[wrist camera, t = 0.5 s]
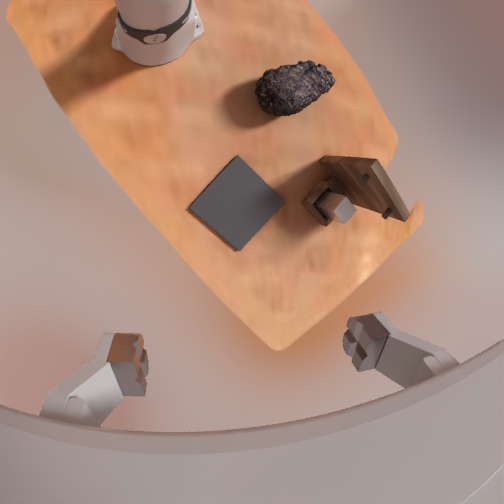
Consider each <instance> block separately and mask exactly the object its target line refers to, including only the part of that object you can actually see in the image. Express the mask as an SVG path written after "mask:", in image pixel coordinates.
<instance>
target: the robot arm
mask: <svg viewBox="0 0 504 504" xmlns="http://www.w3.org/2000/svg"><path fill="white" fill-rule="evenodd" d="M114 2H115V4H116V6H117V14H118V18H116V19H115V24H116V28H115V31H114V35H113V39H112V43H111V45H112V48H113V49H115V50H117V51H121V52H123V53H124V54H125V55H126V56H127V57H128V58H129V59H130V60H132V61H133V62H135V63H138V64H141V65H147V66H155V65H161V64H165V63H168V62H170V61H172V60H174V59H176V58H178V57H179V56H180V55H182V54H183V53H184V52H185V51H186V49H187V48H188V47H189V45H190V44H191V43H192V42H193V41H194V40H196V39H197V38H199V37H200V36H202V35H203V33H204V28H203V25H202V23H201V20H200V17H199V14H198V11H197V8H196V5H195V2H194V0H114ZM196 26H198V28H196ZM347 327H348V330H347V331H346V332H345V333H344V336H343V348H344V350H345V352H346V354H347V355H349V356H351V357H352V363H353V365H354V366H355V368H356V369H357V371H358V372H361V371H365V370H370V369H374V368H375V369H376V370H377V371H379V372H380V373H382V374H384V375H385V376H387V377H388V378H390V379H391V380H393V381H394V382H396V383H398V384H399V385H401V386H402V387H404V388H405V389H403V390H401V391H398V392H395V393H393V394H390V395H387V396H384V397H381V398H378V399H375V400H372V401H369V402H366V403H363V404H360V405H357V406H353V407H350V408H346V409H343V410H339V411H335V412H331V413H328V414H323V415H319V416H315V417H310V418H305V419H301V420H296V421H290V422H285V423H279V424H273V425H266V426H259V427H251V428H242V429H233V430H221V431H206V432H144V431H128V430H116V429H107V428H101V426H100V425H101V424H102V423H103V421H104V420H105V419H106V418H107V417H108V415H109V414H110V413H111V412H112V411H113V410H114V408H115V407H116V406H117V405H118V404H119V402H120V401H121V400H122V398H124V396H145V392H146V385H147V382H146V379H145V377H146V376H147V375H148V356H147V352H146V350H145V349H143V345H144V340H143V337H142V335H141V334H134V333H103V334H102V336H101V339H100V341H99V344H98V347H97V349H96V352H95V355H94V358H93V361H88V362H87V363H85V364H84V365H83V366H82V367H80V368H79V369H78V370H77V371H75V372H74V373H73V374H71V375H70V376H68V377H67V378H66V379H64V380H63V381H62V382H61V383H59V384H58V385H57V386H55V387H54V388H53V389H51V390H50V391H49V392H48V393H47V396H46V398H45V401H44V404H43V407H42V409H41V412H40V415H39V416H36V415H32V414H29V413H25V412H22V411H18V410H15V409H12V408H9V407H6V406H3V405H0V504H504V340H501V341H499V342H497V343H496V344H495V345H493V346H491V347H489V348H488V349H486V350H484V351H483V352H481V353H479V354H477V355H476V356H474V357H472V358H470V359H468V360H467V361H465V362H463V363H461V364H459V363H458V361H457V360H456V359H455V358H454V357H453V356H452V355H451V354H450V353H449V352H448V351H447V350H446V349H445V348H442V347H439V346H437V345H435V344H432V343H430V342H427V341H425V340H422V339H420V338H418V337H415V336H413V335H410V334H408V333H405V332H400V331H399V330H398V329H397V328H396V327H395V326H394V324H392V322H391V321H390V320H389V319H388V318H387V317H386V316H385V315H384V314H383V313H382V312H375V313H370V314H367V315H361V316H355V317H350V318H349V319H348V322H347Z"/></svg>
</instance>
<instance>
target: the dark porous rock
mask: <svg viewBox="0 0 504 504" xmlns="http://www.w3.org/2000/svg"><path fill="white" fill-rule="evenodd" d="M334 83H335V79H334V78H333V76H332V73H331V72H330V71H327V68H326V66H325V65H322V64H318V65H317V66H315V63H314V62H312V61H310V60H309V61H307V62H302V61H299V62H298V64H296V65H283V66H280V67H279V68H278V69H276V70H274V69H270V70H266V71H265V72H264V74H263V77H261V78H260V79H259V80H258V81H257V83H256V86H257V88H256V90H255V93H256V95H257V96H258V101H259V103H260V106H261V108H262V109H263V111H265V112H266V113H268V114H274V115H276V116H283V115H284V116H290V115H292V114H296V113H298V112H300V111H302V110H303V108H305V107H307V106H308V105H310V104H311V103H312V102H314V101H317V99H318V98H319V97H320V96H321V94H324V93H325V92H326V93H327V92H328V91H329V90H330V88H331V87H332V86H333V85H334Z"/></svg>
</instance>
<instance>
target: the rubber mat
mask: <svg viewBox="0 0 504 504" xmlns="http://www.w3.org/2000/svg"><path fill="white" fill-rule="evenodd" d="M284 203H285V202H284V201H283V200H282V199H281V198H280V197H279V196H278V195H277V194H276V193H275V192H274V191H273V190H272V189H271V188H270V187H269V186H268V185H267V184H266V182H265V181H264V180H263V179H262V178H261V177H260V176H259V175H257V174H256V173H255V172H254V171H253V170H252V169H251V168H250V167H249V166H248V165H247V164H246V163H245V162H244V161H243V160H242V159H241V158H240V157H239V156H238V155H237V156H236V157H235V158H234V159H233V160H232V161H231V162H230V163H229V164H228V166H227V167H226V168H225V169H224V170H223V171H222V172H221V173H220V174H219V175H218V176H217V177H216V178H215V179H214V180H213V182H212V183H211V184H210V185H209V186H208V187H207V188H206V189H205V190H204V191H203V192H202V194H201V195H200V196H199V197H198V198H197V199H196V200H195V201H194V203H193V204H192V205H191V206H190V207H189V208H190V209H191V210H192V211H193V212H194V213H196V214H197V215H198V216H199V217H200V218H201V219H203V220H204V221H205V222H206V223H207V224H208V225H210V226H211V227H212V228H213V229H214V230H215V231H217V232H218V233H219V234H220V235H221V236H222V237H224V238H225V239H226V240H227V241H228V242H230V243H231V244H232V245H233V246H234V247H235V248H237V249H238V250H239V251H241V249H242V248H243V247H244V246H245V245H246V244H247V243H248V242H249V241H250V240H251V238H252V237H253V236H254V235H255V234H256V233H257V232H258V231H259V230H260V229H261V228H262V227H263V225H264V224H265V223H266V222H267V221H268V220H269V219H270V218H271V217H272V216H273V215H274V214H275V212H276V211H277V210H278V209H279V208H280V207H281V206H282V205H283V204H284Z"/></svg>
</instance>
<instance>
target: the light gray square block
mask: <svg viewBox="0 0 504 504" xmlns="http://www.w3.org/2000/svg"><path fill="white" fill-rule="evenodd" d="M312 205H313V206H314V207H315V209H316V210H317V211H318V212H319V213H320V214H321V215H324V216H326V217H328V218H330V219H333V220H335V221H337V222H340V223H342V224H345V223H346V222H347V221H348V220H349V219H350V218H351V216H352V215H353V214H354V213H355V212H356V211H357V210H356V209H355V207H354V206H353V205H352V203H351V202H350V201H349V199H348V198H347V197H346V196H343V195H339V194H336V193H332V192H328V191H324V192H323V193H322V194H321V195H320V196H319V198H318V199H317V200H316V201H315V202H314V203H313V204H312Z"/></svg>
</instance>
